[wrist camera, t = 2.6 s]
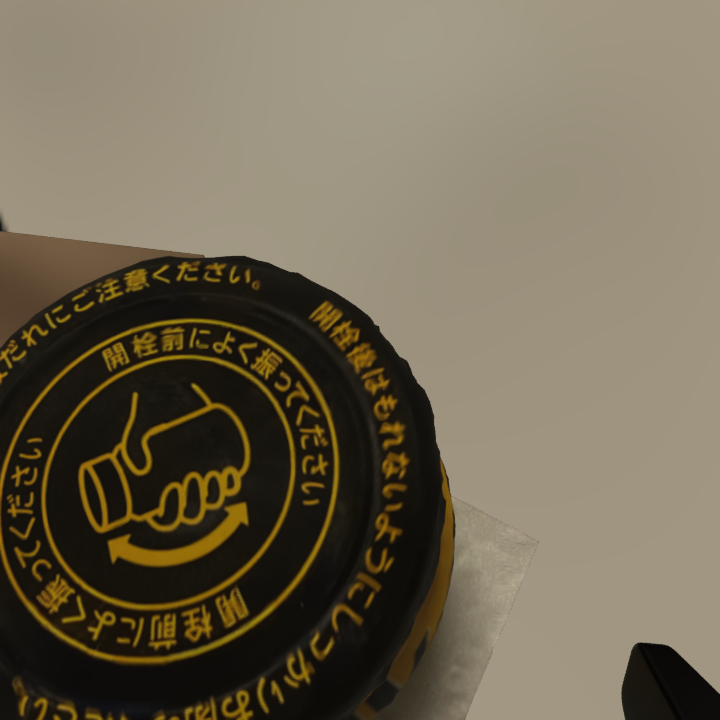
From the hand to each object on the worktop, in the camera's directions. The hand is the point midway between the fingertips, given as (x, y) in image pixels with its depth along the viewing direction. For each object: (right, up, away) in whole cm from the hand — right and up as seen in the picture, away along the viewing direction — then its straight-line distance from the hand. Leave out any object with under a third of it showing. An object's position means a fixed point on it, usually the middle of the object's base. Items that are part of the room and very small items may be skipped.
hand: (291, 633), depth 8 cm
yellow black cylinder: (0, -3, +8) cm, 9 cm away
